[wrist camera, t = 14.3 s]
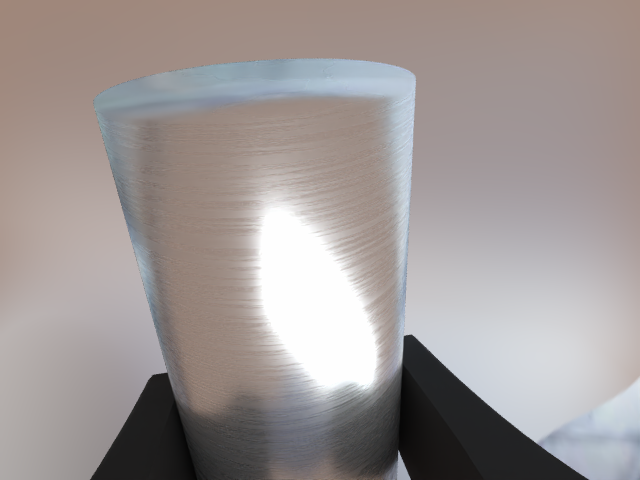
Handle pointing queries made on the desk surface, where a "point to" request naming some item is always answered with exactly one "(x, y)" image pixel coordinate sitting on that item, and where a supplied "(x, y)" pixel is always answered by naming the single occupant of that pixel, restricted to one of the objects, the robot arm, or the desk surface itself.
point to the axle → (273, 256)
